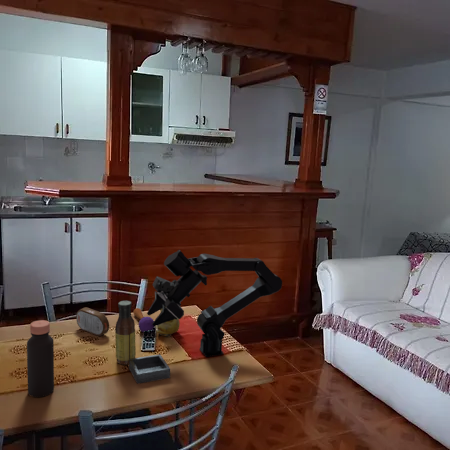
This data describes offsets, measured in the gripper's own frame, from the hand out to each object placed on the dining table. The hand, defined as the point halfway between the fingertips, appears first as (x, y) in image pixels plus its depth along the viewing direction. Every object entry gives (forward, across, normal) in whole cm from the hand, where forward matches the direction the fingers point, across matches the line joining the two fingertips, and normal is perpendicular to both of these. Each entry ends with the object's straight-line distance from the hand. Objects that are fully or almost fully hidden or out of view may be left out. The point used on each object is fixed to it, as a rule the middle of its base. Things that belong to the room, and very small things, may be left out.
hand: (150, 319), depth 151 cm
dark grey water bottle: (+33, +13, -13) cm, 38 cm away
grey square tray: (+11, +9, +8) cm, 16 cm away
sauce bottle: (+15, 0, +4) cm, 16 cm away
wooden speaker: (+21, -25, -2) cm, 33 cm away
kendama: (+8, -29, +12) cm, 32 cm away
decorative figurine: (+2, -19, +17) cm, 26 cm away
